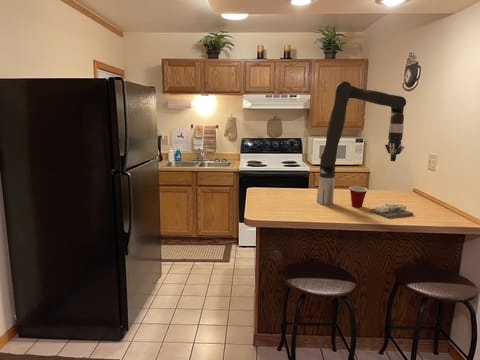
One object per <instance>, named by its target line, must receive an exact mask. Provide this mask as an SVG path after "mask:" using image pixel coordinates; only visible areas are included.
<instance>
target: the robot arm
mask: <svg viewBox="0 0 480 360" xmlns="http://www.w3.org/2000/svg"><path fill="white" fill-rule="evenodd" d="M349 99H354V100H360V101H364V102H367V103H370V104H371V103H372V104H375V105H379V106H386V107H390V120H389V121H390V122H389V127H388V138H387V139H388V142H387V144H385V145H384V146H385V149H386V152H387V154H389V155H390V160H389V161H390V162H396V160H397V155H400V154H401V153H402V152H403V150H404V148H405V146H403V145H402V140H403V136H404V122H405V121H404V120H405V119H404V118H405V114H404V110H405V109H404V108H405V107H406V105H407V100H406V98H405V97H404V96H401V95H395V94H391V93H390V94H389V93H387V92H383V91H377V90H372V89H365V88H360V87H357V86H354V85H352V84H351V83H350V82H349V81H345V80H344V81H341V82H339V83H338V84H337V85H336V87H335V96H334V101H333V107H332V110H331V112H330V115H329V119H328V124H327V127H326V128H327V129H326V136H325V137H326V139H325V145H324V149H323V152H322V154H321V156H320V159H319V162H320V163H319V181H318V183H319V184H318V187H317V190H316V191H317V193H316V203H317V204H319V205H321V206H331V205H333V204H334V196H335V195H334V193H335V192H334V191H335V180H336V179H335V177H336V162H337V154H338V146H339V143H340V140H341V139H342V138H341V137H342V134H343V131H344V128H345V127H344V126H345V122H346V115H347V106H348V103H349Z"/></svg>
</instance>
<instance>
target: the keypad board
mask: <svg viewBox="0 0 480 360" xmlns="http://www.w3.org/2000/svg"><path fill="white" fill-rule="evenodd" d="M391 210H392V209H391V208H389V211H387V212H386V213H381V212H379V211H378V210H376V208H369V212H370V213H373V214H375V215H377V216H381V217H384V218H385V219H392V218H393V219H394V217H396V218H403V216H404V217H410V216H414V212H412V211H408V210H407V209H405V210H404V211H400V207H398V208H395V210H394V211H391Z"/></svg>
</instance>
